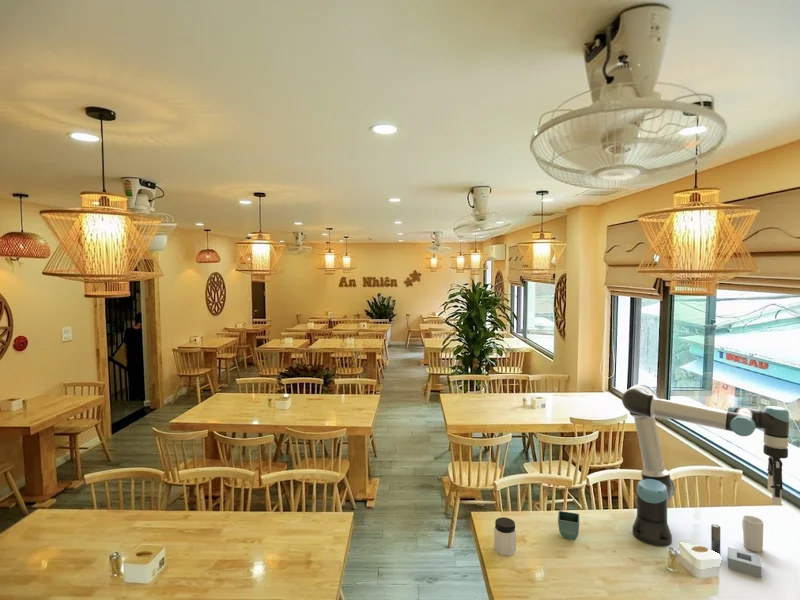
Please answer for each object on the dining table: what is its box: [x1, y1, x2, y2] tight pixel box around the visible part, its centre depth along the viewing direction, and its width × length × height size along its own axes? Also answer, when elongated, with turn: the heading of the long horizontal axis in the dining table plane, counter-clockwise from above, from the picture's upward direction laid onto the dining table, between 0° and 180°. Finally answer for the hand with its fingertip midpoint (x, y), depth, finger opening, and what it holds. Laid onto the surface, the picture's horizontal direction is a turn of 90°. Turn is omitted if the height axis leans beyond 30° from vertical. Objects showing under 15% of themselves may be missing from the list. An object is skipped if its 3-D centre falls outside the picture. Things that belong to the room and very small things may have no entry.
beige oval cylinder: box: [741, 515, 764, 553], centre depth 187 cm, size 10×7×12 cm, turn 172°
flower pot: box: [557, 510, 580, 541], centre depth 195 cm, size 9×9×9 cm
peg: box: [710, 524, 721, 555], centre depth 180 cm, size 3×3×12 cm
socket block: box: [727, 546, 762, 578], centre depth 173 cm, size 10×9×4 cm
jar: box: [493, 517, 517, 557], centre depth 185 cm, size 9×8×12 cm
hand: (774, 497), depth 178 cm, fingers open, 13 cm apart
